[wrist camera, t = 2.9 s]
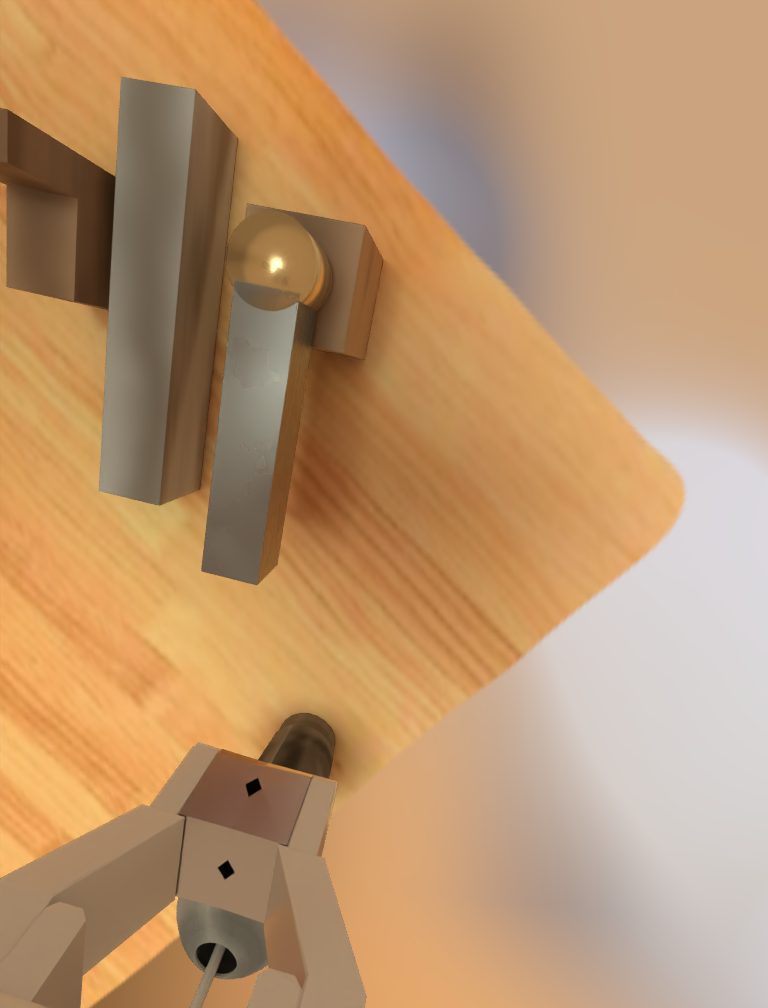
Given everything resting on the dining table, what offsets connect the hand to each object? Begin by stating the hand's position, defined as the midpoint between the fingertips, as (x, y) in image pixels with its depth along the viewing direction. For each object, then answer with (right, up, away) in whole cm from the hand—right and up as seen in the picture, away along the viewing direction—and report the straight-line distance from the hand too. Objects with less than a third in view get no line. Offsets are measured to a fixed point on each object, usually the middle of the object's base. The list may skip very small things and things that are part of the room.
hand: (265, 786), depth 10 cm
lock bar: (-3, +11, +16) cm, 19 cm away
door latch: (-8, +17, +22) cm, 29 cm away
